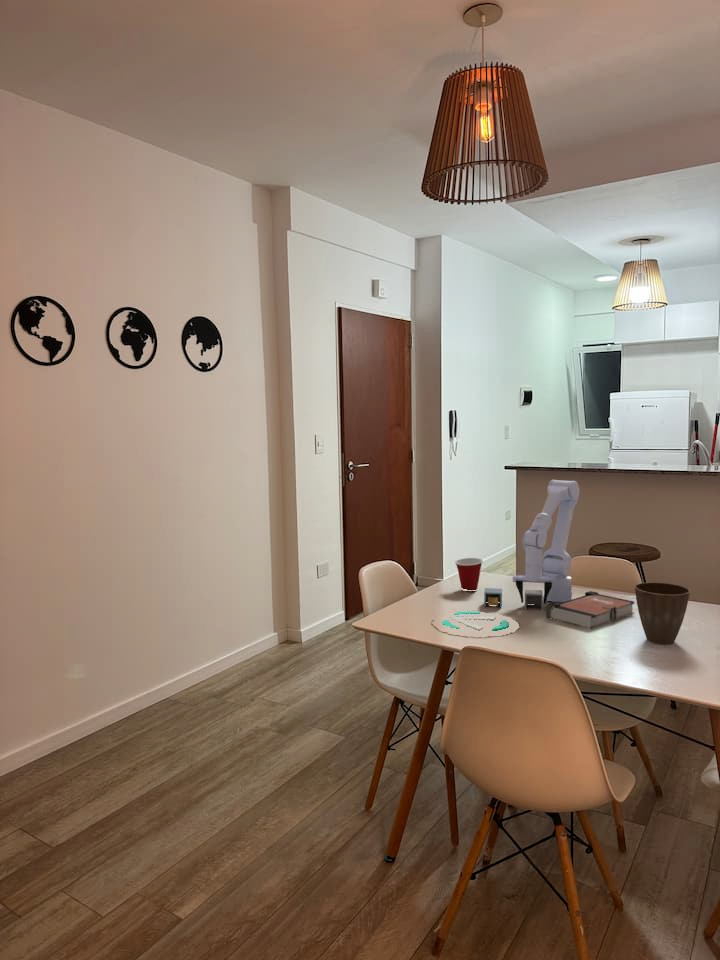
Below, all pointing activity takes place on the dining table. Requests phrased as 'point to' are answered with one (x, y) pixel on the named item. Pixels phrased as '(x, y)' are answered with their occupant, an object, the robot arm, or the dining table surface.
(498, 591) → the cover
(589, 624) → the book
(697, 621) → the dining table surface
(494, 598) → the cube
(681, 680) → the dining table surface
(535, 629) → the dining table surface
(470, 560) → the plastic cup
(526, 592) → the cover
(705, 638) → the dining table surface
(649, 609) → the plant pot
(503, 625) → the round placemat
